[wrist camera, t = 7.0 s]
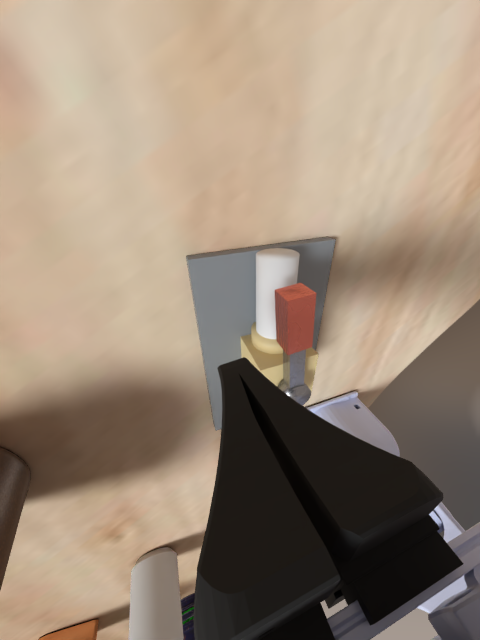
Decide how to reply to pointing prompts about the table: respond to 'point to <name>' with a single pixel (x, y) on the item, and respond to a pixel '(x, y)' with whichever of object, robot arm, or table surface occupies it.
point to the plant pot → (10, 502)
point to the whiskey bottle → (76, 632)
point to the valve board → (253, 305)
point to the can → (155, 597)
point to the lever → (295, 336)
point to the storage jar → (188, 617)
